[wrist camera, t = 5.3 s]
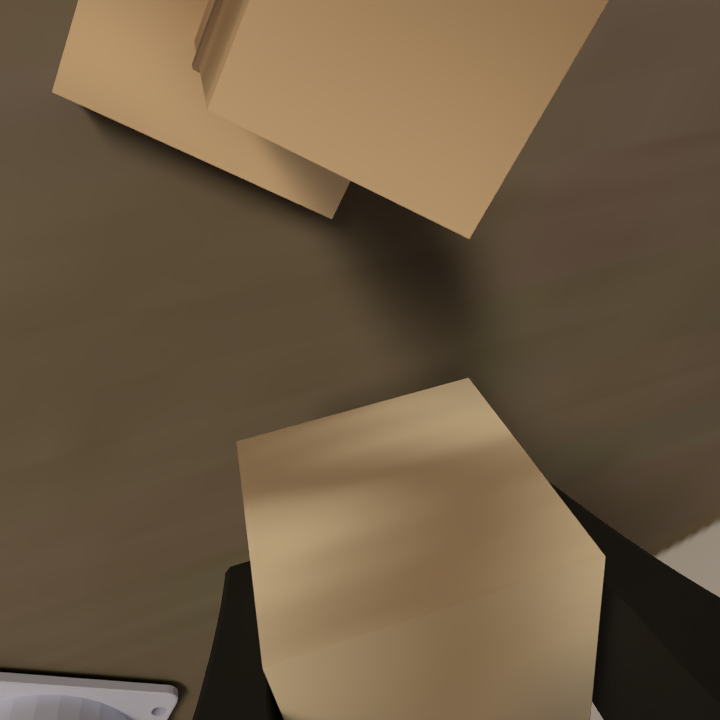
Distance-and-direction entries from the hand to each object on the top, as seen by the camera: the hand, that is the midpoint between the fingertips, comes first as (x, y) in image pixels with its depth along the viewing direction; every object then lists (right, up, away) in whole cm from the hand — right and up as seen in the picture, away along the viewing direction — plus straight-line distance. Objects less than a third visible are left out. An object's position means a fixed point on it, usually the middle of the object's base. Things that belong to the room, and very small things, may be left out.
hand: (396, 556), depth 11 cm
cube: (0, +1, +1) cm, 2 cm away
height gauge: (-3, +11, +2) cm, 11 cm away
